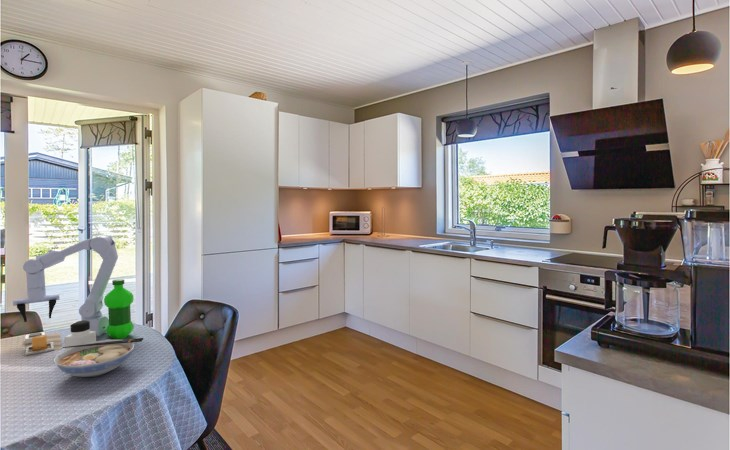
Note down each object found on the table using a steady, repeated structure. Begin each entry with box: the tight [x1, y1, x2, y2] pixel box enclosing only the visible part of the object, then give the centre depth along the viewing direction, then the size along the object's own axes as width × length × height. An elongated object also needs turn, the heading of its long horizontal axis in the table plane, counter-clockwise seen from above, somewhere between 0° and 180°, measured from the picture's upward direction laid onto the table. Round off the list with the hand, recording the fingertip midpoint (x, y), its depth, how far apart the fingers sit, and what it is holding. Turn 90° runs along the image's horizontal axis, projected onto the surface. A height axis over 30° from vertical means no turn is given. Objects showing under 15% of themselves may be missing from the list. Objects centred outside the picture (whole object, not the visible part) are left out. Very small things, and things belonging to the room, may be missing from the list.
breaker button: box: [29, 331, 42, 338], centre depth 156 cm, size 3×3×2 cm
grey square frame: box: [24, 342, 54, 357], centre depth 146 cm, size 8×8×1 cm
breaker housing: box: [24, 331, 46, 344], centre depth 156 cm, size 6×6×2 cm
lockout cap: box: [32, 334, 48, 351], centre depth 146 cm, size 4×4×5 cm
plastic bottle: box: [103, 278, 134, 340], centre depth 163 cm, size 10×10×25 cm
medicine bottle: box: [64, 319, 97, 351], centre depth 148 cm, size 7×7×12 cm
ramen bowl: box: [53, 337, 144, 378], centre depth 130 cm, size 25×23×8 cm
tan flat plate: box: [23, 332, 63, 357], centre depth 152 cm, size 23×11×2 cm, turn 40°
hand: (38, 319), depth 158 cm, fingers open, 7 cm apart
